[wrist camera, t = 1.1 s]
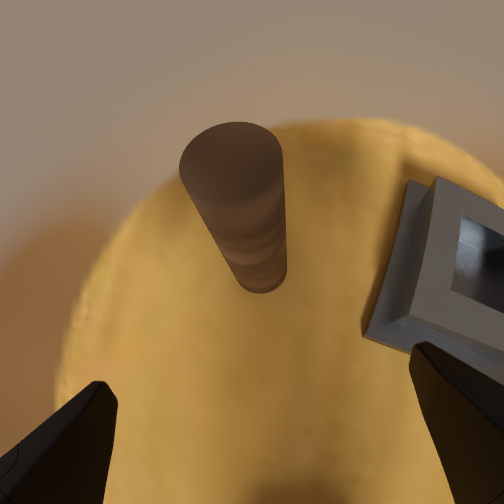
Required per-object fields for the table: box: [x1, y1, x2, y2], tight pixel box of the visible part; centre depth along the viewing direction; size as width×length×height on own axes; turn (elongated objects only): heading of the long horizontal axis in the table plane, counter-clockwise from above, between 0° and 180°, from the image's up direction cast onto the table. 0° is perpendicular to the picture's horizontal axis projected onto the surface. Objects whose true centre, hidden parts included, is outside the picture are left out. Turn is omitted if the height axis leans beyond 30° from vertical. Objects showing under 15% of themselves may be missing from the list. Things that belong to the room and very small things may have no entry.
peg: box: [179, 122, 287, 293], centre depth 17 cm, size 4×4×13 cm
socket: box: [362, 176, 504, 385], centre depth 19 cm, size 14×14×4 cm
